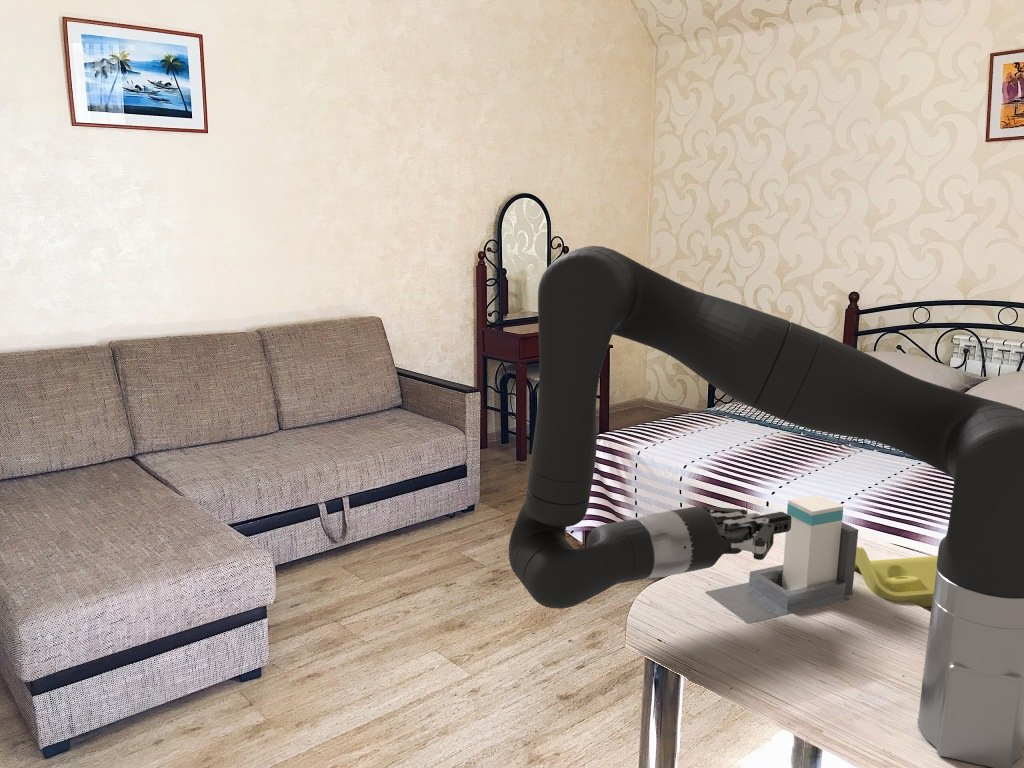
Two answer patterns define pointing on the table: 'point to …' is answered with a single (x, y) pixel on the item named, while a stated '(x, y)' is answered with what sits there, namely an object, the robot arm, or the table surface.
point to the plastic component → (899, 577)
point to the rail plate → (775, 596)
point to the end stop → (847, 556)
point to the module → (812, 542)
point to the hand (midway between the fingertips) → (787, 521)
